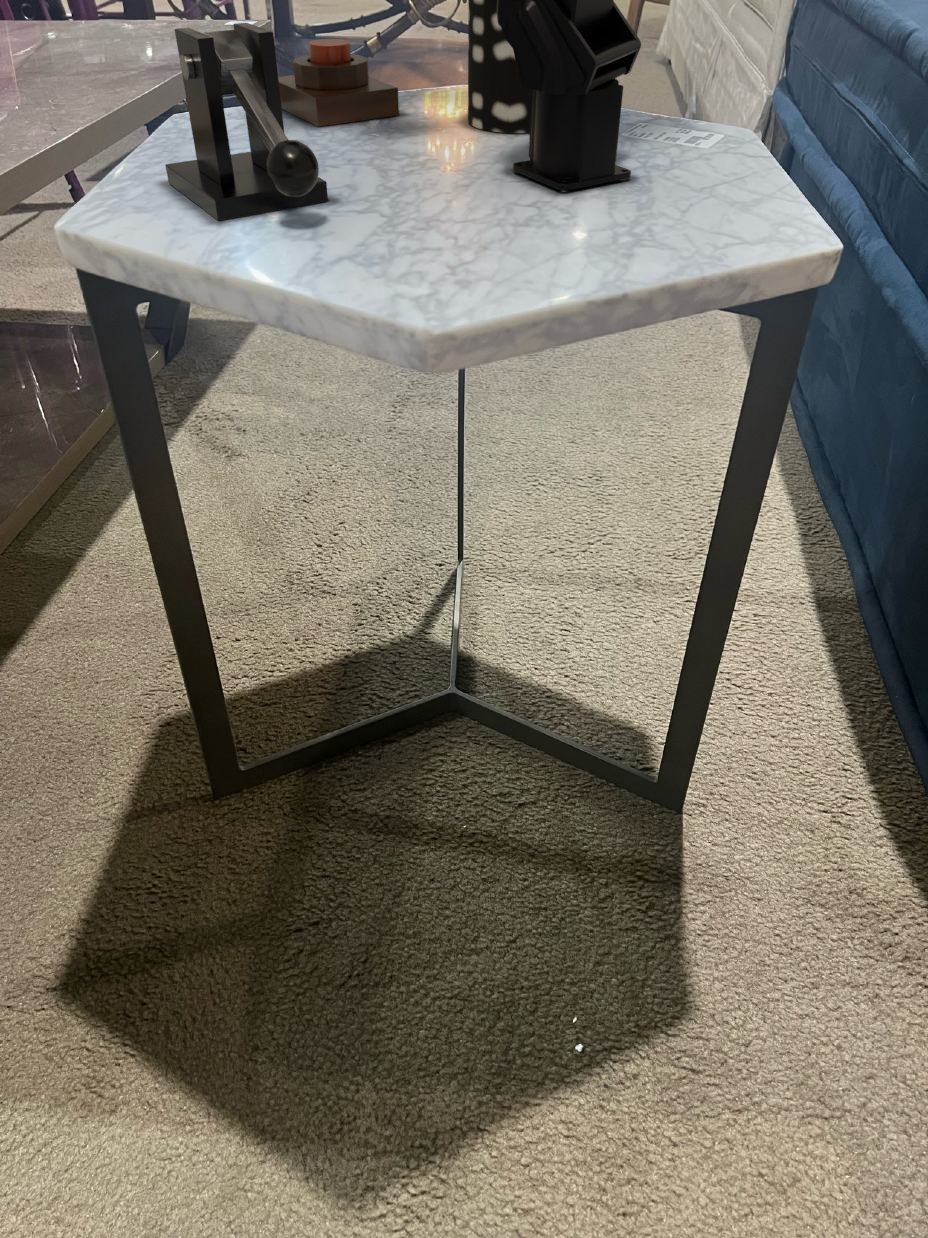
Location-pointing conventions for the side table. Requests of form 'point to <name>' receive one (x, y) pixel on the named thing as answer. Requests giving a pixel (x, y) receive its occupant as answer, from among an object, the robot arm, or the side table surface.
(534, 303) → the side table surface
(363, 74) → the button block
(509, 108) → the spotted black cylinder
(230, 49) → the lever
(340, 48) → the button
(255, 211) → the bracket
